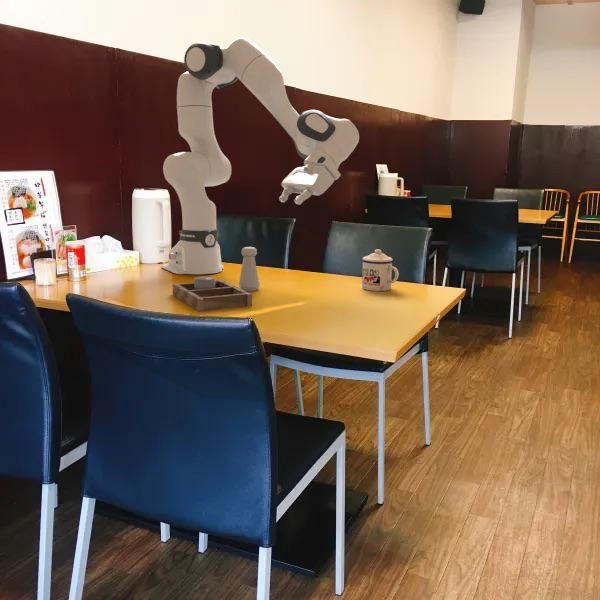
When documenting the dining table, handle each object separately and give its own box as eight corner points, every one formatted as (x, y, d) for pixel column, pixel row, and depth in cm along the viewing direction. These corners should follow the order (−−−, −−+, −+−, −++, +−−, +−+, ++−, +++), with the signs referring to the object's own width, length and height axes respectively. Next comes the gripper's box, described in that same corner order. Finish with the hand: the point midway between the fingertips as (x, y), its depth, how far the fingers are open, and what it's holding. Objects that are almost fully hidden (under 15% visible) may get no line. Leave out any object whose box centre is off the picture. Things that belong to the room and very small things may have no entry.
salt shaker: (256, 295, 174) (256, 249, 171) (236, 294, 175) (236, 248, 172) (261, 291, 179) (261, 246, 176) (242, 290, 180) (242, 245, 178)
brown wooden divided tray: (173, 298, 168) (172, 283, 167) (221, 293, 175) (221, 279, 174) (199, 315, 151) (198, 299, 150) (252, 309, 157) (252, 294, 156)
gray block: (190, 296, 167) (189, 278, 165) (207, 293, 170) (207, 275, 169) (202, 299, 163) (202, 281, 162) (219, 296, 166) (219, 278, 165)
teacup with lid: (354, 288, 185) (356, 249, 183) (373, 284, 192) (374, 246, 189) (387, 294, 177) (389, 254, 175) (405, 290, 184) (408, 251, 181)
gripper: (295, 158, 187) (265, 192, 185) (330, 159, 170) (298, 196, 167) (308, 174, 190) (279, 206, 188) (344, 175, 173) (312, 212, 170)
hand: (288, 201), depth 177 cm, fingers open, 8 cm apart
